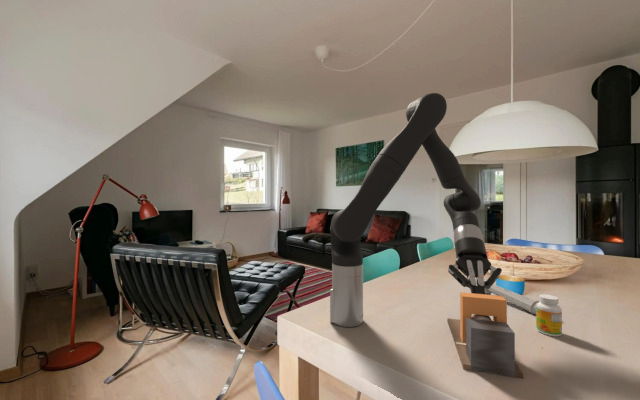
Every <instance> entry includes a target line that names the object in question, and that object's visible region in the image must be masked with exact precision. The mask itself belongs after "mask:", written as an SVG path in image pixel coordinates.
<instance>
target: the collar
mask: <svg viewBox="0 0 640 400" xmlns="http://www.w3.org/2000/svg"><path fill="white" fill-rule="evenodd" d="M459 294H460V295H459V307H460V308H459V314H460V315H459V318H460V319H459V320H460V338H461V340H462V343H466V318H469V319H472V314H477V315H486V316H489V317H493V318H492V321H496V322H505V323H507V324H508V322H507V321H508V320H507V319H508V316H507V315H508V307H507V305H508V301H507V300H506V299H505V298H504V297H503V296H497V295H495V294H491V295H485V294H474V293H471V292H462V291H461V292H460V293H459Z"/></svg>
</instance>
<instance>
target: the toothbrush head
mask: <svg viewBox="0 0 640 400" xmlns="http://www.w3.org/2000/svg"><path fill="white" fill-rule="evenodd" d="M487 280H488V279H486V278H484V281H487ZM476 286H477V284H476ZM484 290H485V295H497V296H503V297H504V298H505V299H506V300H507V302H508V303H511V304H513V305H516V306H518V307H519V308H521V309H524V310H525V311H528V312H530V314H531V315H535V316H536V305H537V303H539V302H540V300H539V299H538V300H534V299H531V298H529V297H528V296H527V297H526V296H524V295H521V294H519V293H517V292H515V291H514V292H513V291H512V290H509V289H507V288H504V287H502V286H499V285H498V284H497V285H496V284H495V283H493V285H492V286H491V287H490V288H489V289H484Z"/></svg>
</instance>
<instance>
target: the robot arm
mask: <svg viewBox="0 0 640 400" xmlns="http://www.w3.org/2000/svg"><path fill="white" fill-rule="evenodd" d="M447 109H448V106H447V100H446V98H445V97H444V95H442V94H441V93H438V92H432V93H431V92H430V93H426V94H425V95H422V96H420V97H418V98H417V99H414V100H413V101H411V102H410V103H409V104H408V105H407V107H406V111H405V118H406V120H407V124H405V126H404V127H403V128H402V130H401V131H400V132H399V133H397V134H396V135H395V136H394V137H393V138H392V139H391V140H390V141H389V142H388V143H387V144H386V145H385V146H384V147H383V148H382V149H381V150H380V151H379V153H377V156H376V157H375V159H374V160H373V161H372V163H371V165H370V166H369V168H368V170H367V172H366V174H365V176H364V178H363V181H362V184H361V186H360V188H359V190H358V192H356V194H355V196H353V199H352V200H351V201H350V202H349V204H348V205H347V206H346V207H345V208H344V209H341V210H338V211H337V212H335V213H334V214H333V216H332V217H331V222H330V253H331V289H329V290H330V291H329V297H330V298H329V308H330V309H329V313H330V314H329V320H330V321H329V322H330V323H333V324H335V325H337V326H340V327H345V328H353V327H358V326H360V325H362V324H363V323H364V255H363V252H362V248H361V237H362V236H363V235H364V233H365V232H366V230H367V229H368V226H369V225H370V223H371V221H372V219H373V217H374V215H375V213H376V212H377V210H378V208H379V207H380V205H381V204H382V203H383V201H384V200H385V199H386V198H387V196H388V195H389V194H390V192H391V191H392V189H393V188H394V186H395V185H396V184H397V182H398V181H399V180H400V179H401V177H402V175H403V174H404V173H405V171H406V170H407V169H408V166H409V165H410V163H411V162H412V161H413V159H414V157H415V156H416V155H417V153H418V152H419V151H420V148H421V146H422V147H423V148H424V151H425V152H426V154H427V155H428V157H429V159H430V161H431V163H432V166H433V167H434V170H435V172H436V175H437V178H438V180H439V182H440V184H441V187H442V188H443V189H445V190H451V189H452V190H453V189H456V190H460V191H458V192H455V193H451V194H448V195H447V196H445V198H444V200H443V207H444V208H445V211H446V212H447V213H448V216H449V218H450V220H451V222H452V229H453V245H454V249H455V251H454V252H455V256H456V260H455V263H454V264H449V265H448V270H447V271H448V273H449V274H450V276H452V277H453V279H455V280H456V281H457V282H458V283H459V284H460V285H461V286H462V287H463V288H469V289H470V293H474V294H485V290H484V289H489V288H490V287H491V286H492V285H493V284H495V282H496V281H497V280H498V279H499V277H500V276H501V274H502V271H503V269H502V268H501V267H497V268H496V267H495V266H494V265H492V262H491V261H490V260H489V258H488V254H487V249H486V243H485V241H484V237H483V233H482V231H481V227H480V224H479V218H478V216H477V215H476V213H474V211H477V210H479V209H480V207H481V206H482V205H481V204H482V202H481V201H482V200H481V198H480V196H479V194H478V193H477V192H476V190H475V189H474V188H473V187H472V185H470V184H469V182H468V180H467V178H466V177H465V175H464V173H463V171H462V167H461V165H460V163H459V161H458V158H457V156H455V154H454V152H453V151H452V150H451V149H450V148H449V147H448V146H447V145H446V143H444V142H443V140H442V139H441V138H440V136H439V134H438V132H437V130H436V128H437V127H438V126H439V125H440V123H441V122H442V121H443V119H444V118H445V116H446V113H447ZM489 271H490V272H489ZM488 272H489V274H490V275H489V277H488V278H487V279H486V280H487V281H484V279H485V278H484V277H486V274H487V273H488ZM476 284H477V286H476Z"/></svg>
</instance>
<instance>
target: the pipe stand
mask: <svg viewBox="0 0 640 400" xmlns="http://www.w3.org/2000/svg"><path fill="white" fill-rule="evenodd" d="M447 324H448V327H449V330H450V333H451V336H452V339H453V342H454V346H455V349H456V351H457V354H458V355H457V356H458V357H459V361H460V364H461V367H462V369H463V370H469V371H476V372H480V373H481V372H482V373H488V374H493V375H499V376H506V377H512V378H518V379H524V372H523V371H522V369H521V368H520V366H519V365H518V364H517V361H516V357H515V356H516V355H515V354H516V353H515V352H516V351H515V349H516V344H515V343H516V342H515V339H516V334H515V331H514V330H513V329H512V328H511V327H510V326H509V324H508V322H507V323H505V322H496V321H493V319H492V318H491V316H486V315H477V314H472V319H469V318H466V343H462V340H461V338H460V319H458V318H457V319H456V318H447Z"/></svg>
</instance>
